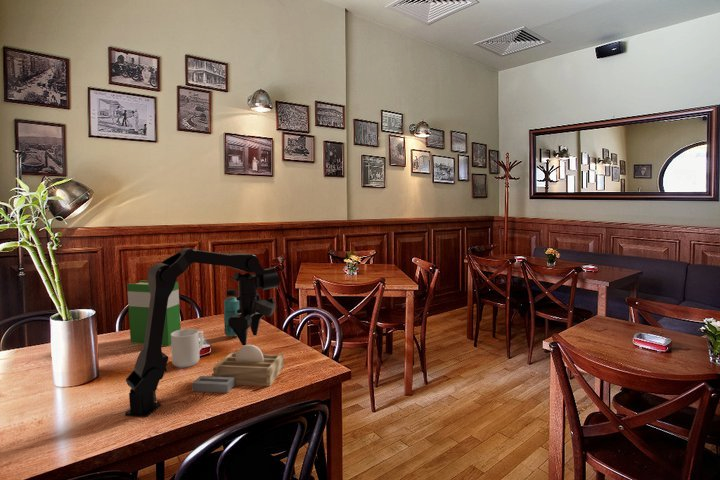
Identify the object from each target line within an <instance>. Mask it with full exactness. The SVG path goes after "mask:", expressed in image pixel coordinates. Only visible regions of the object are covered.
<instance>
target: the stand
mask: <svg viewBox="0 0 720 480" xmlns="http://www.w3.org/2000/svg"><path fill="white" fill-rule="evenodd" d="M191 383H192V384H191V389H192V392H205V393H223V394H224V393H226V394H227V393H229V392H231V390H232V389H233V388H234V387H235V385H236V384H235V377H215V376H214V375H213V376H211V375H210V376H209V375H199V376H198V377H197V378H196V379H195V380H194V381H193V382H191Z"/></svg>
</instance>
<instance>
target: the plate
mask: <svg viewBox="0 0 720 480" xmlns="http://www.w3.org/2000/svg"><path fill="white" fill-rule="evenodd" d="M236 353H237V354H236V361H243V362H263V361H264V357H263V354H264V353H263V352H262V350H261V349H260V348H259V346H256V345H255V344H254V345H253V344H246V345H242V346H241V347H240V348H239V349H238V350H237V351H236Z"/></svg>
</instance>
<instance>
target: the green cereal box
mask: <svg viewBox="0 0 720 480" xmlns="http://www.w3.org/2000/svg"><path fill="white" fill-rule="evenodd" d="M138 281H139V282H137V283H132V282H131V283H126V288H127V302H128V307H127V308H128V319H129V320H128V321H129V336H130V337H129V338H130V343H131V344H141V345H144V340H145V333H146V326H147V319H148V311H149V304H150V297H151V295H150V290H149V285H148V280H147V279H146V280H145V279H143V280H142V279H141V280H138ZM179 290H180V289H179V282H178V281H176V284H175V287H174V289H173V291H172V292H171V294H170V296H169V298H168V305H167V312H166V319H165V326H164V333H163V340H162V347H163V346H164V347H166V346H167V347H169V346H170V347H171V333H172V332H174V331H177V330H181V329H182V328H181V313H180V293H179V292H180V291H179Z"/></svg>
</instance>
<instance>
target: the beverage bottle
mask: <svg viewBox="0 0 720 480" xmlns="http://www.w3.org/2000/svg"><path fill="white" fill-rule="evenodd" d="M225 294H226V296H228V297H226V298H225V299H224V300H223V309H224V311H223V315H224V317H223V318H224V320H223V324H224V334H225V336H229V337H230V336H233V337H234V336H237V335H236V333H235V332H234V330H233V329H232V328H230V327H229V326H228V319H229V318H230V317H232V316H233V315H234V314H241V313H237V310H238V309H239V300H236V297H237V295H238V292H237V289H236V288H234V289H232V288H231V289H227V290H226V293H225Z"/></svg>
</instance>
